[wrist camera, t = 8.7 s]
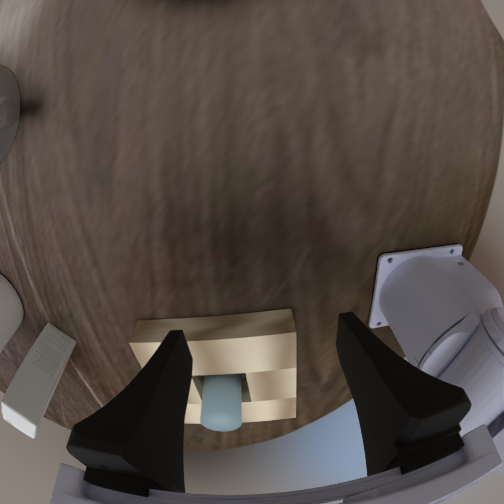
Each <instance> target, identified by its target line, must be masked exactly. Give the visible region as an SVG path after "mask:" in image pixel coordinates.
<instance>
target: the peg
mask: <svg viewBox="0 0 504 504" xmlns="http://www.w3.org/2000/svg"><path fill="white" fill-rule="evenodd" d="M200 423H201V424H202V425H203V426H204V427H206V428H208V429H211V430H215V431H231V430H235V429H237V428H239V427H240V426H241V425H242V398H241V373H238V374H221V375H204V385H203V395H202V405H201V416H200Z"/></svg>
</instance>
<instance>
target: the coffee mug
mask: <svg viewBox="0 0 504 504" xmlns="http://www.w3.org/2000/svg"><path fill="white" fill-rule="evenodd" d="M19 117H20V92H19V87H18V83H17V81H16V78H15V76H14V75H13V73H12V71H11V70H9V69H8V68H7V67H4V66H0V163H1V162H2V161H3V160H4V159H5V157H6V156H7V154H8V153H9V151H10V149H11V147H12V144H13V142H14V139H15V136H16V133H17V128H18V124H19Z"/></svg>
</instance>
